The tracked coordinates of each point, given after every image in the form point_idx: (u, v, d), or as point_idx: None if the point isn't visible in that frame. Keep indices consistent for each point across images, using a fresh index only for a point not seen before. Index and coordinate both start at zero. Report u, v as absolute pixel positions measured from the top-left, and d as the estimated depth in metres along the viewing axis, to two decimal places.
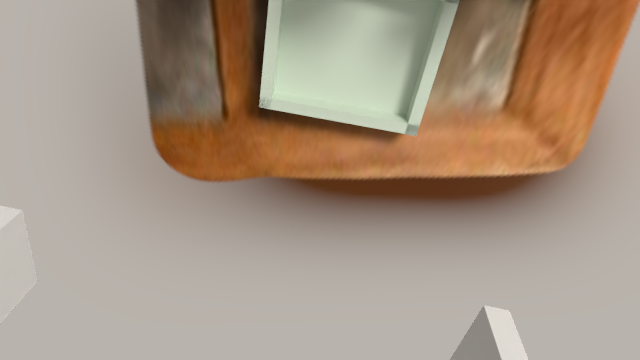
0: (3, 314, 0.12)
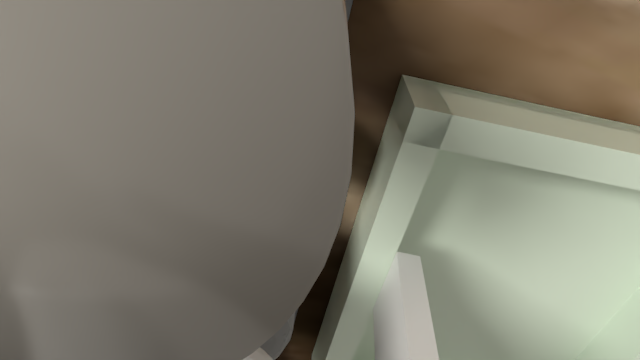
0: None
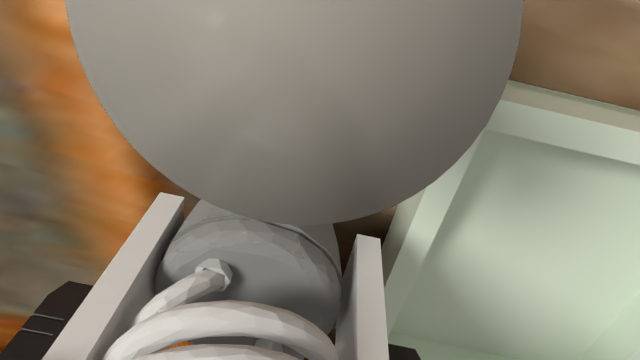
0: None
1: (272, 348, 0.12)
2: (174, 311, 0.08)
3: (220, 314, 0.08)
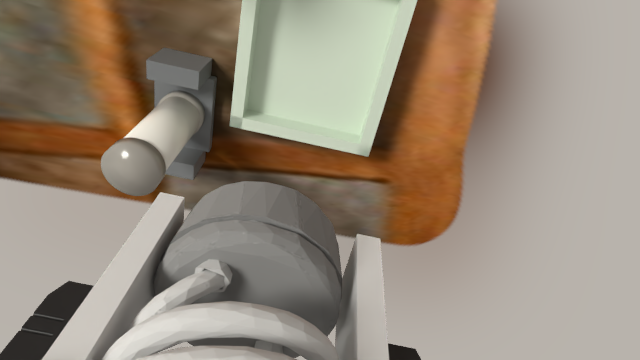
0: None
1: (272, 349, 0.12)
2: (173, 312, 0.08)
3: (219, 315, 0.08)
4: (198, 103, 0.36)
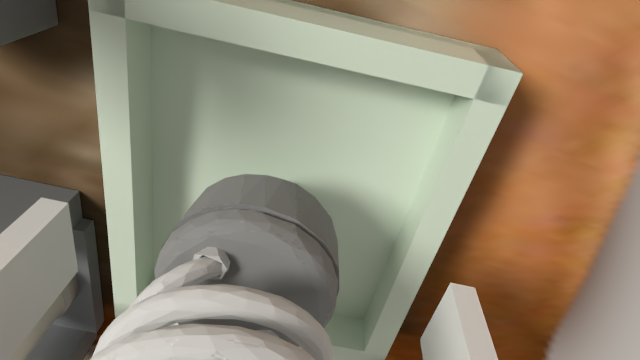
0: (49, 302, 0.12)
1: None
2: (169, 293, 0.09)
3: (213, 296, 0.08)
4: None
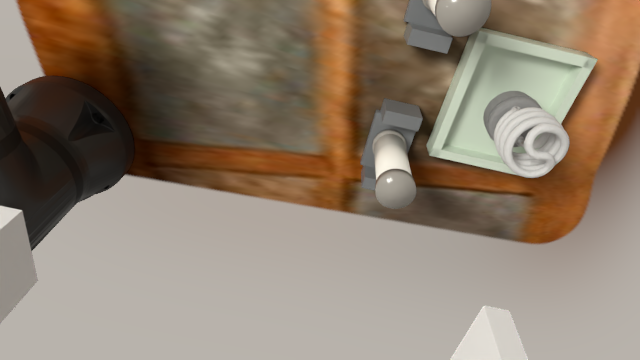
0: (3, 314, 0.12)
1: (522, 137, 0.41)
2: (524, 108, 0.38)
3: (535, 108, 0.38)
4: (404, 138, 0.48)
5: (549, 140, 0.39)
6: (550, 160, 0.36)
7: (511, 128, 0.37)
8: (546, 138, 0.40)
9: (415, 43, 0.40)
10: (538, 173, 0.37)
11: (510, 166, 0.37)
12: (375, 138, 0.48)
